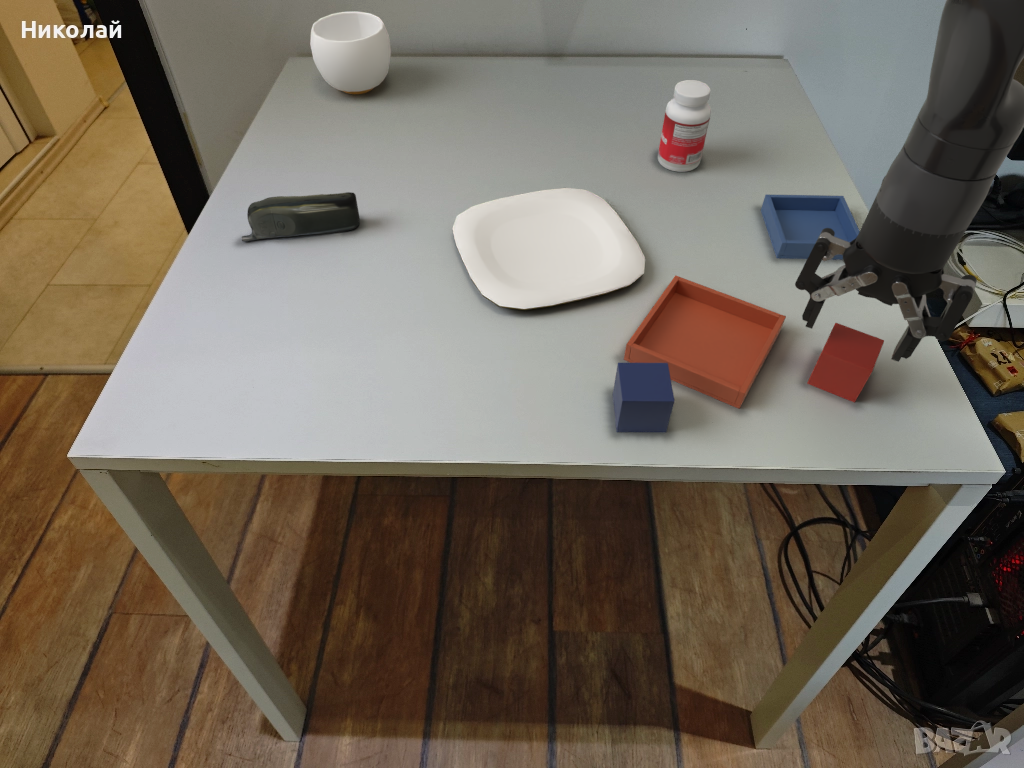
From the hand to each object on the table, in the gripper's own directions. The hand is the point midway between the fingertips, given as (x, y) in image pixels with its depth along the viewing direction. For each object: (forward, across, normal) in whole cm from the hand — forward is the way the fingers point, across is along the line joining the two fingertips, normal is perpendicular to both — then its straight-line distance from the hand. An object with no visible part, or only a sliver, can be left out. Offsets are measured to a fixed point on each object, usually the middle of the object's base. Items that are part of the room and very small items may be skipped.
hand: (852, 339), depth 72 cm
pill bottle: (+7, -30, +30) cm, 43 cm away
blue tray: (+6, -9, +23) cm, 26 cm away
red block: (+6, 0, 0) cm, 6 cm away
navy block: (+6, -16, -15) cm, 23 cm away
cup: (+7, -84, +24) cm, 88 cm away
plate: (+7, -36, +3) cm, 37 cm away
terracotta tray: (+6, -14, -3) cm, 15 cm away
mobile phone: (+7, -66, -10) cm, 67 cm away
